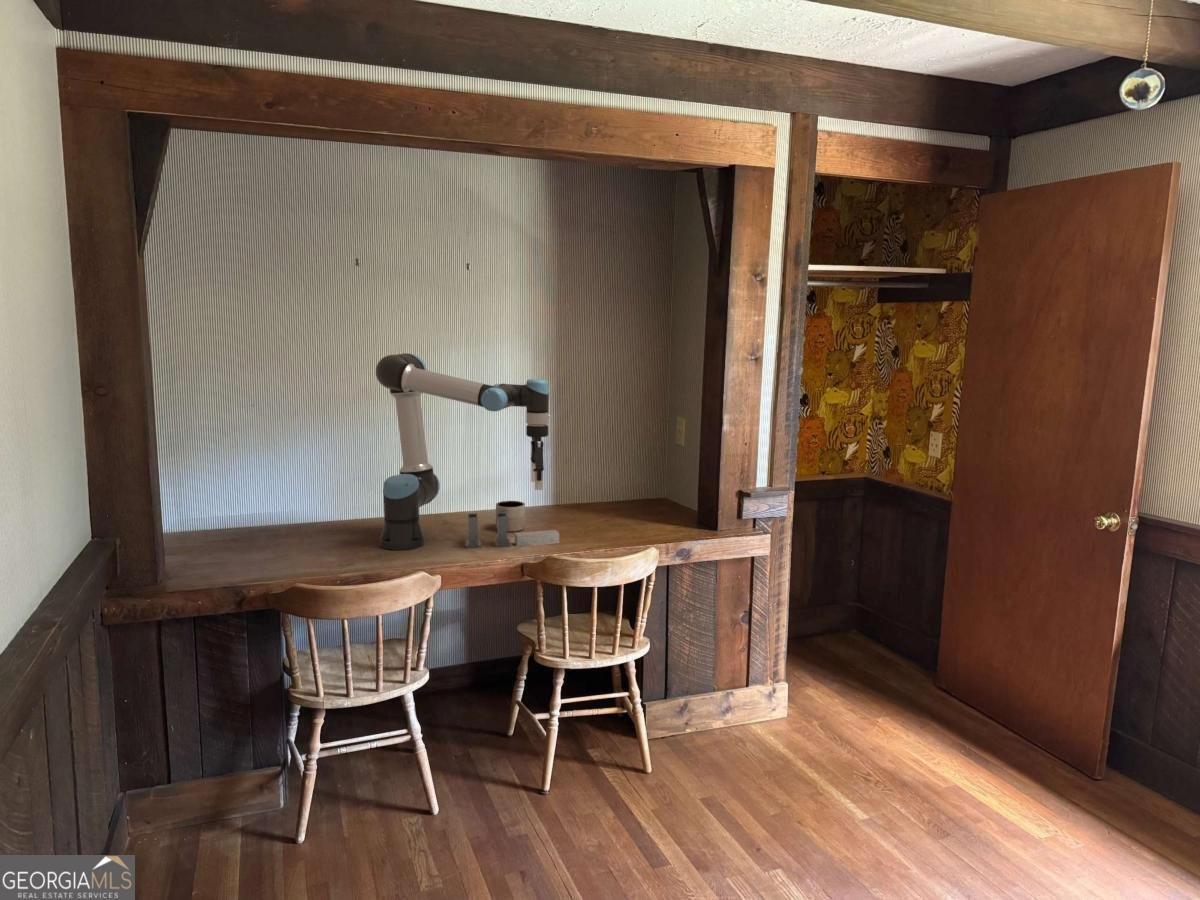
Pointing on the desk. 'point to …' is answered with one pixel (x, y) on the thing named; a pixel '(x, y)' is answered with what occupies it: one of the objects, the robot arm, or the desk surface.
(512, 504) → the planter
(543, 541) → the rail
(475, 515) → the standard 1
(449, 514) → the desk surface
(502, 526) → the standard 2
